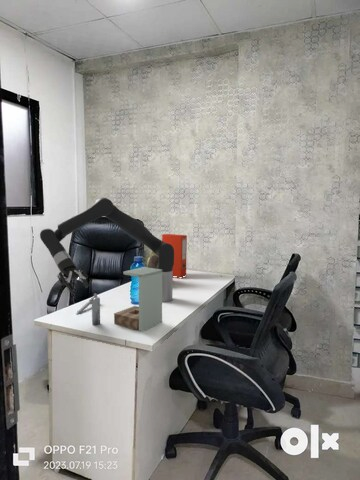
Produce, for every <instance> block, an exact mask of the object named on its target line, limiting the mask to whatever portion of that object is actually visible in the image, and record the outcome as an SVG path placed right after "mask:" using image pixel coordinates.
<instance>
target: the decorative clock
mask: <svg viewBox="0 0 360 480" xmlns="http://www.w3.org/2000/svg"><path fill="white" fill-rule="evenodd" d="M158 263H159V257H158V256H157V255H156V254H155V253H154V252H153V251H152V250H151V249H150V256H149V257H148V259H147V261H146V267H147V268H154V269H157V265H158Z"/></svg>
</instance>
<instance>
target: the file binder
mask: <svg viewBox="0 0 360 480" xmlns="http://www.w3.org/2000/svg"><path fill="white" fill-rule="evenodd" d="M187 237H188V236H187V235H185V234H175V233H174V234H171V233H166V234H165V233H164V234H162V235H161V241H163V242H165V243H168V244H171V245H172V246H173V248H174V266H173V276H177V277H183V276H185V275H186V276H187V249H188V248H187V245H188V243H187V241H188V238H187Z"/></svg>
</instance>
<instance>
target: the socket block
mask: <svg viewBox="0 0 360 480" xmlns="http://www.w3.org/2000/svg"><path fill="white" fill-rule="evenodd" d="M113 314H114V315H113V317H114V318H113V319H114V322H113V324H115V325H118V326H120V327H124V328H128V329H132V330H136V331H139V306H136V305H133V306H131V307H128V308H125V309H122V310H119V311H117V312H115V313H113Z"/></svg>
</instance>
